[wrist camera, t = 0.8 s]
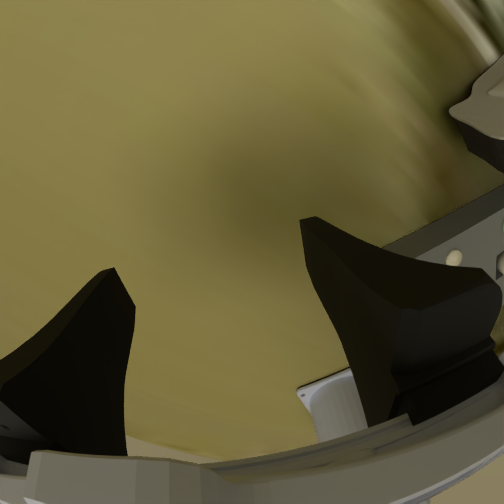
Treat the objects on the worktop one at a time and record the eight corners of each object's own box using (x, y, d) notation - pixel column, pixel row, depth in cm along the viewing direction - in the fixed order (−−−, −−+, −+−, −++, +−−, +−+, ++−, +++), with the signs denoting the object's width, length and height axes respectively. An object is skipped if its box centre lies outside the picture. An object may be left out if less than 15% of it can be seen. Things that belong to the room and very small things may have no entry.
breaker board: (532, 257, 25) (549, 271, 22) (392, 346, 28) (404, 369, 25) (533, 166, 20) (556, 176, 17) (370, 253, 23) (388, 275, 20)
